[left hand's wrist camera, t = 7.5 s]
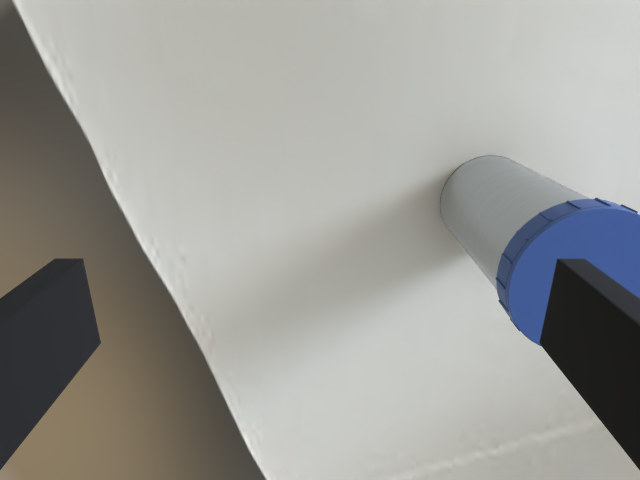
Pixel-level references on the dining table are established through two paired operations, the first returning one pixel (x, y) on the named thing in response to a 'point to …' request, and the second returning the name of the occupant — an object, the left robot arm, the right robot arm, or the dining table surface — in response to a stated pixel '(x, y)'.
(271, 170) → the dining table surface
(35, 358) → the left robot arm
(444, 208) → the jar
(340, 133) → the dining table surface
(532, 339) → the lid
